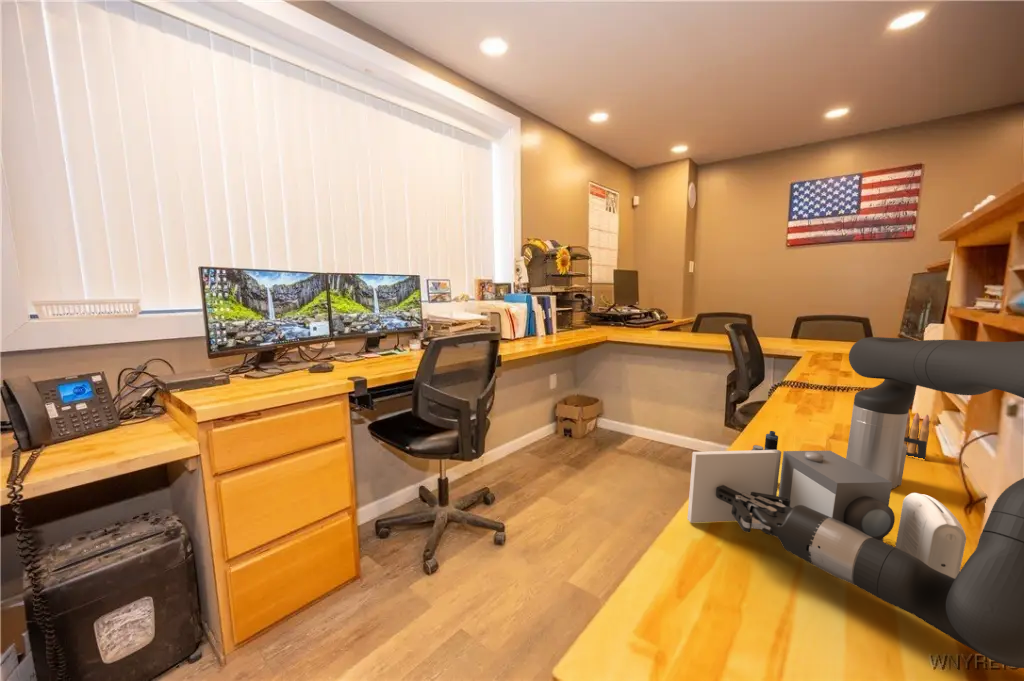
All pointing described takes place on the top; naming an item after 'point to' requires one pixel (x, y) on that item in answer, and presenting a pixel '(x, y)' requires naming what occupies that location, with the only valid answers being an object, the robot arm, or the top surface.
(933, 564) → the photo printer
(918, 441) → the ammunition clip
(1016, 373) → the robot arm
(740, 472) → the side door
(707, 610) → the top surface
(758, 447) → the vaping device
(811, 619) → the top surface
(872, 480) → the block
